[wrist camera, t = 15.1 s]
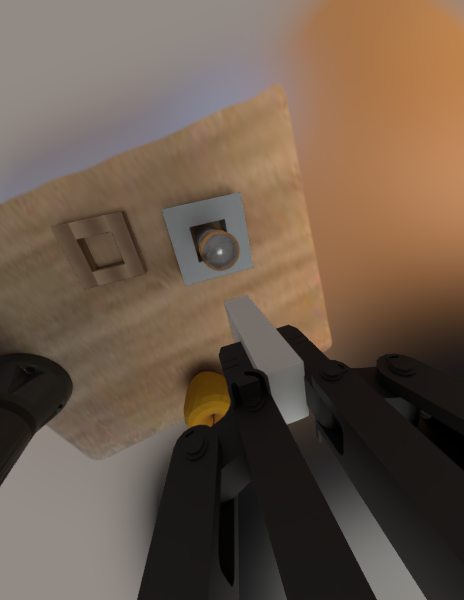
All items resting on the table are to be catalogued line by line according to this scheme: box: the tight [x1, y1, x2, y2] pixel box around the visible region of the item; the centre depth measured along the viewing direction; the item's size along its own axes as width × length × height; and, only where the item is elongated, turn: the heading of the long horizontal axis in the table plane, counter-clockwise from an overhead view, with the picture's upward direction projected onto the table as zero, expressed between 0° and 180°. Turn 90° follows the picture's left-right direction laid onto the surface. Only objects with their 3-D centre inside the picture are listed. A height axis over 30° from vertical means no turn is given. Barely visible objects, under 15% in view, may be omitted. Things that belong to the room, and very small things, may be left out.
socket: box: [161, 192, 253, 286], centre depth 36 cm, size 12×12×5 cm
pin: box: [196, 226, 240, 271], centre depth 32 cm, size 5×5×15 cm
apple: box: [184, 371, 231, 429], centre depth 45 cm, size 11×11×13 cm
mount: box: [51, 211, 147, 290], centre depth 35 cm, size 10×10×2 cm
